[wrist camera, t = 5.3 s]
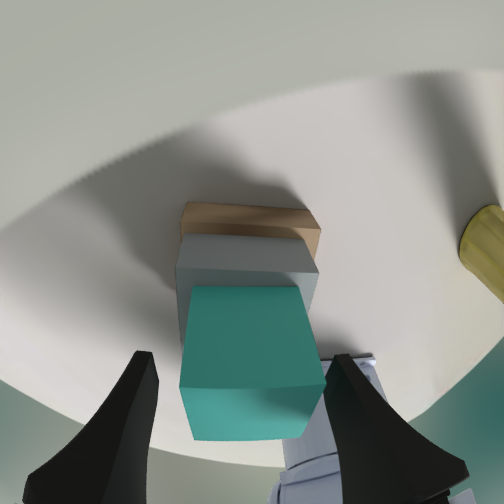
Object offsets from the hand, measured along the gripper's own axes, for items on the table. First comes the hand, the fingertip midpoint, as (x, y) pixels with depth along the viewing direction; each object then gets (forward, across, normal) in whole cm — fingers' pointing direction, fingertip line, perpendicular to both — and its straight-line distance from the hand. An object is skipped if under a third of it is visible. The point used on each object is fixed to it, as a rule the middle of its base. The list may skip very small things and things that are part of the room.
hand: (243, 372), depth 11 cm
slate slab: (+6, 0, 0) cm, 6 cm away
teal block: (+3, 0, 0) cm, 3 cm away
